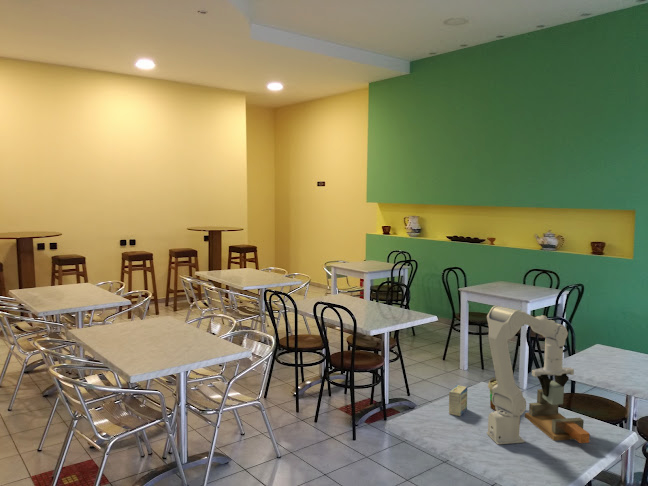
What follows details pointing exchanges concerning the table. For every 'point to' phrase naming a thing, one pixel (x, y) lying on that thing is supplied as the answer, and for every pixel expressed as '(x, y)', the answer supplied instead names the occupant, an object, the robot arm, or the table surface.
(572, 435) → the clamp jaw
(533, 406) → the press
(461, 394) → the medicine box
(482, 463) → the table surface
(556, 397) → the block
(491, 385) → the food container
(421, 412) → the table surface
